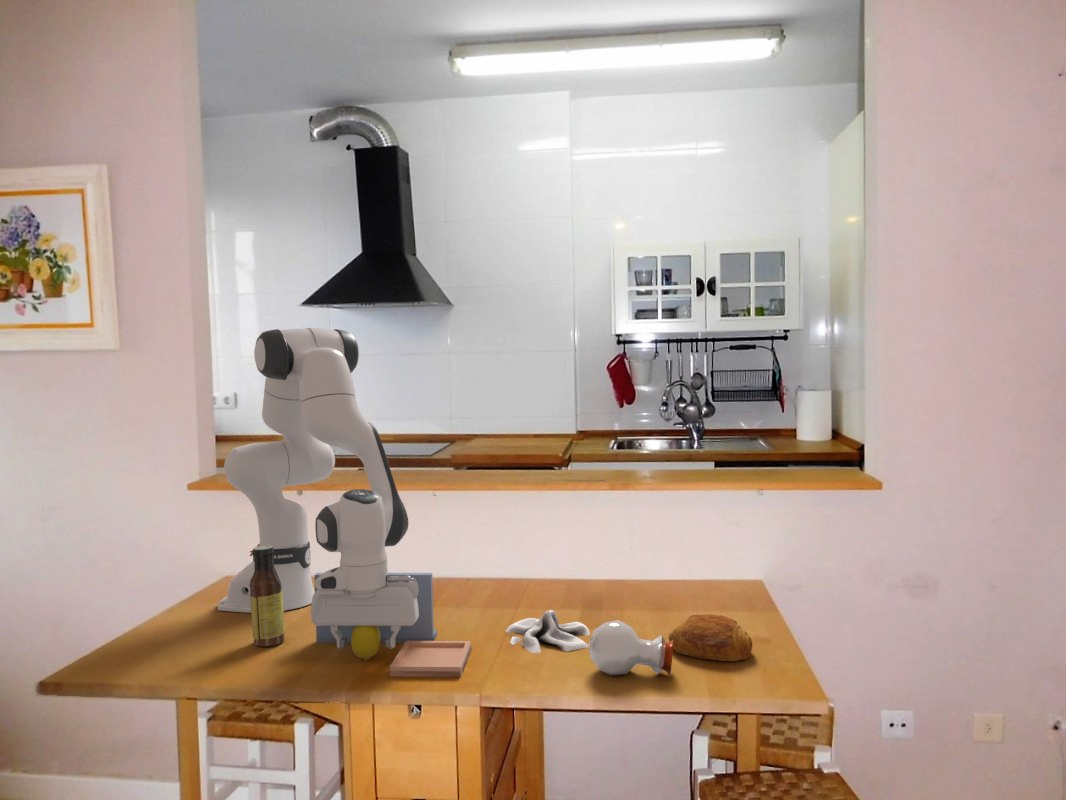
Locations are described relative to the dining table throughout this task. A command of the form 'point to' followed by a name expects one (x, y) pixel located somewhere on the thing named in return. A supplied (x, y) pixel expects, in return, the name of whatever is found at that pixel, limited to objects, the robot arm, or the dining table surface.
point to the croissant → (711, 638)
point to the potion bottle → (627, 650)
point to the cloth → (548, 633)
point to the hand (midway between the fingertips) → (366, 647)
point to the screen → (416, 632)
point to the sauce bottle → (266, 600)
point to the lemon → (365, 641)
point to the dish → (431, 659)
